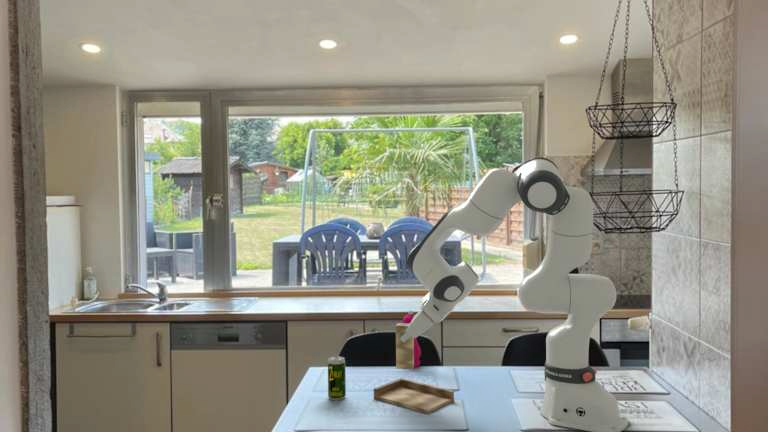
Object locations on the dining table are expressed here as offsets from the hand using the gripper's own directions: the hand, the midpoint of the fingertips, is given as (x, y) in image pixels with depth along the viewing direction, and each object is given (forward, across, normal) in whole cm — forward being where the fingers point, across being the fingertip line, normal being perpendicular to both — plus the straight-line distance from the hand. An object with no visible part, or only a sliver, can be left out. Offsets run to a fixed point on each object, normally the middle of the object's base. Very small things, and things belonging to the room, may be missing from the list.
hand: (403, 338), depth 170 cm
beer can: (+27, +3, -1) cm, 27 cm away
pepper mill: (+14, -35, +12) cm, 40 cm away
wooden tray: (+10, +3, +15) cm, 19 cm away
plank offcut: (+6, 0, +7) cm, 9 cm away
